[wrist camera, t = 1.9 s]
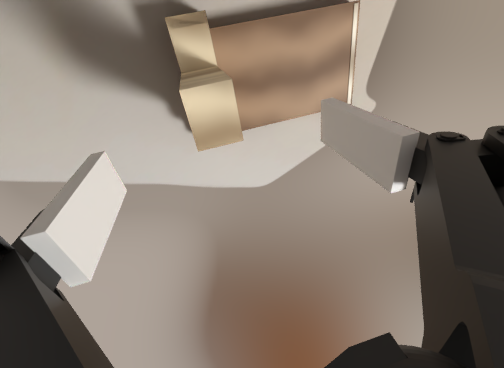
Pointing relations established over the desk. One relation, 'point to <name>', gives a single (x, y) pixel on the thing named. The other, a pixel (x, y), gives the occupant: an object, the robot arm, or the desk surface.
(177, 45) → the bracket
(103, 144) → the desk surface
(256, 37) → the board
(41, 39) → the desk surface
